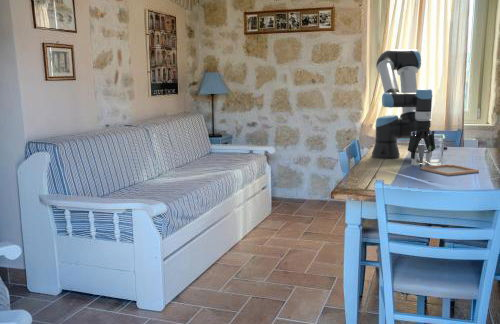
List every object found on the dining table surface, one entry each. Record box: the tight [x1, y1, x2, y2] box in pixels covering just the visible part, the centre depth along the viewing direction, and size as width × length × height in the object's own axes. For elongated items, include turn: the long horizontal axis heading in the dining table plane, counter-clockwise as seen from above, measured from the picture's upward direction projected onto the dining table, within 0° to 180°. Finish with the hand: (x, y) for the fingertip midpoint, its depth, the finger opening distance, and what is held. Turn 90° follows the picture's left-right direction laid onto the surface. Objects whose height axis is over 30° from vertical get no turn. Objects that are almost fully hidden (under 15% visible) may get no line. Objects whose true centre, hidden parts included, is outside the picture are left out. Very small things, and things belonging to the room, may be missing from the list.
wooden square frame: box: [420, 163, 480, 177], centre depth 228 cm, size 18×18×1 cm
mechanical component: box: [416, 144, 432, 163], centre depth 245 cm, size 3×10×10 cm, turn 79°
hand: (420, 164), depth 245 cm, fingers closed on mechanical component, 8 cm apart
